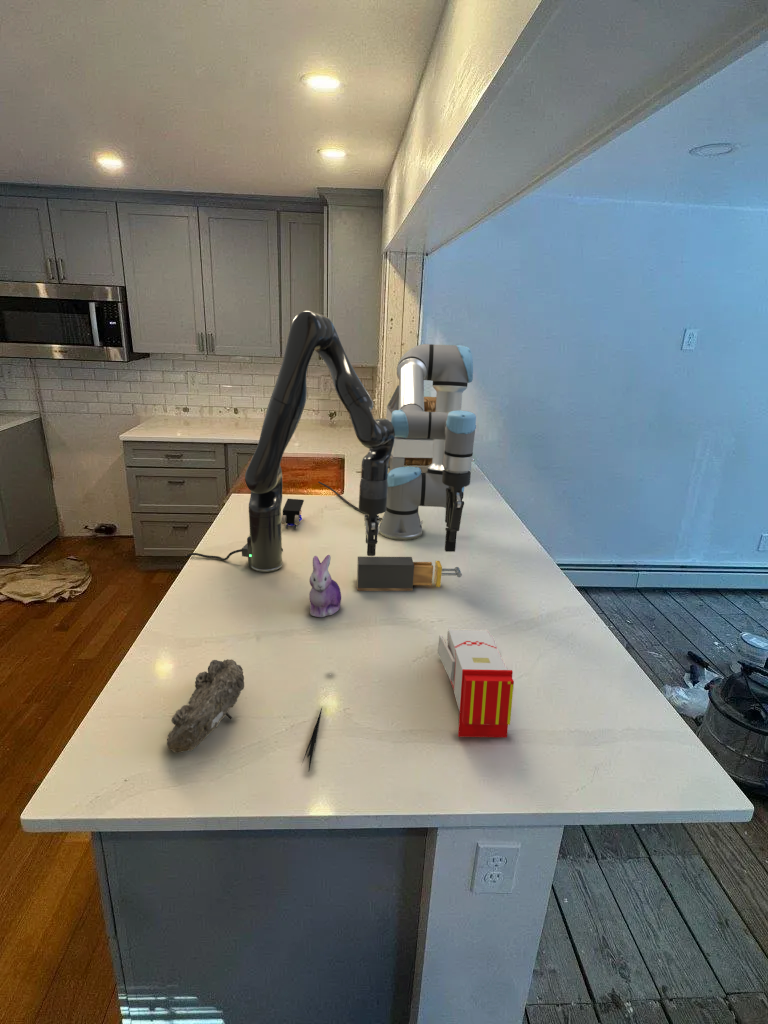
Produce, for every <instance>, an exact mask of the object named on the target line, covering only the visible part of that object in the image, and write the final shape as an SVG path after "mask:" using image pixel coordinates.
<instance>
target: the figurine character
mask: <svg viewBox="0 0 768 1024" xmlns="http://www.w3.org/2000/svg"><path fill="white" fill-rule="evenodd" d="M304 501H305V499H300V498H299V499H298V498H286V502H285V503H284V506H283V508H282V514H281V526H285V530H288V529H289V526H290V527H293V530H296V529H297V526H299V525H300V522H301V521H302V520H303V517H302V514H303V513H302V508H303V504H304Z"/></svg>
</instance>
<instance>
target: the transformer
mask: <svg viewBox="0 0 768 1024" xmlns="http://www.w3.org/2000/svg"><path fill="white" fill-rule="evenodd" d="M398 408H399V384H398V385H397V386H396V388H395V390H394V392H393V394H392V395H391V398H390V400H389V402H388V404H387V405H386V413H385V414H386V415H385V419H388V420H389V421H390V422H391V417H392V412H393V411H395V410H398ZM435 410H436V396H424V412H435ZM433 442H434V439H421V438H401V437H395V440H394V445H393V448H392V452H391V456H390V459H389V462H388V468H389V472H390V471H391V470H393V469H395V468H399V467H405V466H413V467H428V466H429V465H431V464H432V458H433Z"/></svg>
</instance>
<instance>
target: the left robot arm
mask: <svg viewBox="0 0 768 1024" xmlns="http://www.w3.org/2000/svg"><path fill="white" fill-rule="evenodd" d="M314 352H316V353H317V354H318V355H319V357H320V358H321V359H322V360H323V362H324V363H325V365H326V367H327V369H328V371H329V373H330V376H331V380H332V384H333V387H334V391H335V393H336V395H337V396H338V398H339V400H340V402H341V403H342V405H343V406H344V408H345V410H346V412H347V413H348V415H349V417H350V422H351V424H352V427H353V431H354V433H355V436H356V439H357V440H358V441H359V442H360V444H361V445H362V446H363V447H364V448H367V449H368V452H367V453H366V455H365V456H363V457H362V459H361V471H360V483H359V490H358V491H359V493H358V508H359V510H360V511H361V512H360V511H359V510H358V511H359V512H360V513H362V512H363V513H362V514H364V513H366V514H364V515H363V516H364V518H363V519H364V527H365V529H364V530H365V544H367V545H366V556H367V557H376V548H377V545H378V536H379V533H380V532H379V526H380V523H381V520H380V519H379V518H380V515H381V514H384V513H385V511H386V507H387V491H388V483H387V477H388V473H389V467H388V462H389V459H390V456H391V452H392V448H393V445H394V440H395V430H394V427H393V424H392V423H391V422H390V421H389V420H388V419H386V417H385V418H384V417H380V418H376V419H375V418H374V416H373V414H372V411H373V409H374V406H375V405H374V401H373V399H372V397H371V396H370V394H369V393H368V391H367V389H366V387H365V385H364V384H363V382H362V381H361V379H360V377H359V376H358V374H357V372H356V371H355V369H354V367H353V365H352V364H351V361H350V360H349V357H348V355H347V353H346V351H345V348H344V346H343V345H342V342H341V340H340V337H339V334H338V332H337V330H336V327H335V325H334V323H333V321H332V320H331V319H330V318H329V317H328V316H326V315H324V314H321V313H318V312H314V311H311V310H302V311H299V312H298V314H296V315H295V317H294V318H293V320H292V322H291V324H290V328H289V332H288V337H287V340H286V347H285V350H284V355H283V358H282V362H281V366H280V369H279V372H278V374H277V378H276V380H275V381H276V382H275V385H274V388H273V390H272V393H271V396H270V399H269V402H268V406H267V408H266V412H265V416H264V419H263V423H262V427H261V430H260V431H261V432H260V435H259V440H258V443H257V446H256V448H255V450H254V453H253V455H252V457H251V460H250V462H249V463H248V466H247V468H246V470H245V473H244V482H245V485H246V487H247V489H248V490H249V491H250V497H249V502H248V522H249V523H248V524H249V536H248V537H247V538H246V544H245V545H244V546H243V547H242V548H240V549H236V550H233V551H230V553H228V554H227V556H226V557H224V558H223V557H221V556H219V555H207V554H203V553H198V552H191V553H188V554H186V556H185V558H190V557H191V556H198V557H201V558H206V559H207V558H208V559H217V560H219V561H221V562H222V561H224V562H226V561H227V560H228V559H230V557H231V556H232V555H234V554H237V553H241V557H245V558H247V567H248V568H251V569H252V570H254V571H256V572H259V573H270V572H271V573H272V572H275V571H278V570H279V569H281V568H282V567H283V553H284V549H283V537H282V536H283V535H282V533H283V532H282V524H281V520H282V502H283V470H282V467H281V463H282V459H283V456H284V453H285V451H286V449H287V446H288V445H289V443H290V442H291V440H292V437H293V436H294V434H295V433H296V430H297V428H298V425H299V424H300V421H301V418H302V415H303V414H304V413H303V412H304V410H305V408H306V407H305V406H306V403H307V398H308V397H307V395H308V387H307V385H308V384H307V373H308V368H309V365H310V362H311V359H312V357H313V354H314Z"/></svg>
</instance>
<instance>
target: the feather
mask: <svg viewBox="0 0 768 1024" xmlns="http://www.w3.org/2000/svg"><path fill="white" fill-rule="evenodd" d="M329 675H330V676H331V675H332V674H331V673H330V674H329ZM322 710H323V707H321V708H320V710H319V713H318V716H317V719H316V723H315V725H314V728H313V731H312V733H311V737H310V739H309V742H308V745H307V748H306V751H305V754H304V757H303V760H302V763H301V767H302V765H303V763H304V761H305V758H308V759H309V760H308V762H307V763H308V764H307V766H308V771H310V770H311V766H312V765H311V764H312V760H313V757H315V756H314V755H315V751H316V749H315V746H317V739H318V733H319V729H320V722H321V717H322V712H323V711H322ZM313 754H314V755H313ZM306 755H307V757H306Z"/></svg>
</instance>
